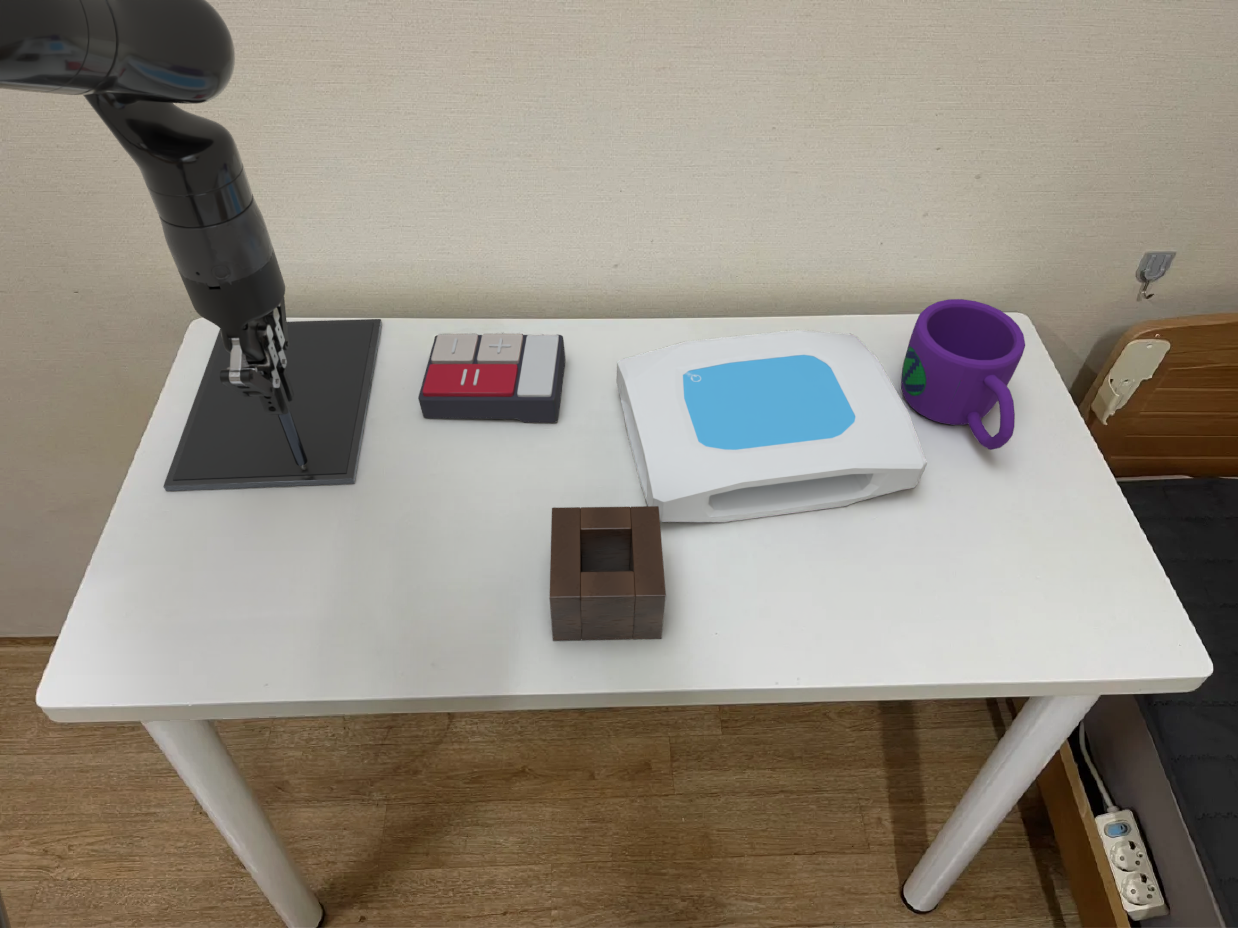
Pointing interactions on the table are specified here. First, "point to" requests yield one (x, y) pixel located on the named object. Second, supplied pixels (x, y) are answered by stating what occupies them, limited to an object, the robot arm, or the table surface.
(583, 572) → the pen stand
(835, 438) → the document scanner
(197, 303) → the robot arm
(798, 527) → the table surface
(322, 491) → the table surface
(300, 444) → the stylus
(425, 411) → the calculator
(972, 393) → the mug
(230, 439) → the tablet
